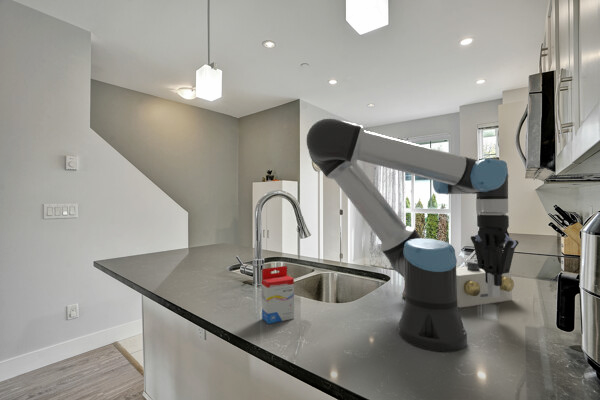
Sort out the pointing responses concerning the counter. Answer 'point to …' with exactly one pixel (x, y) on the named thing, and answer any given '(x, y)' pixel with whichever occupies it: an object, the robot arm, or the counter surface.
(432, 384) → the counter surface
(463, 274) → the console
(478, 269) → the dial
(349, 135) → the robot arm
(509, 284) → the knob right
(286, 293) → the ink box
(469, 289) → the knob left
